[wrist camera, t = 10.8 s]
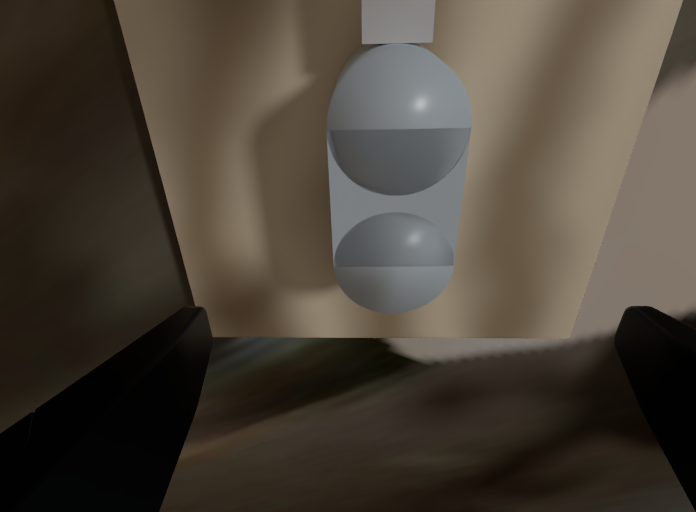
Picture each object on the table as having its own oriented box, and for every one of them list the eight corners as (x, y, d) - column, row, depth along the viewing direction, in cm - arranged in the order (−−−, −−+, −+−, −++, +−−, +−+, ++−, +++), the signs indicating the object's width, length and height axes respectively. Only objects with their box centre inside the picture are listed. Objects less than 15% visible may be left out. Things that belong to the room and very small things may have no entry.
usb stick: (432, 254, 20) (447, 313, 17) (340, 255, 21) (335, 313, 17) (460, -46, 14) (495, -61, 10) (329, -42, 14) (316, -55, 11)
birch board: (712, -163, 13) (741, -176, 12) (561, 323, 24) (569, 338, 23) (94, -139, 14) (74, -148, 13) (210, 322, 25) (203, 336, 24)
